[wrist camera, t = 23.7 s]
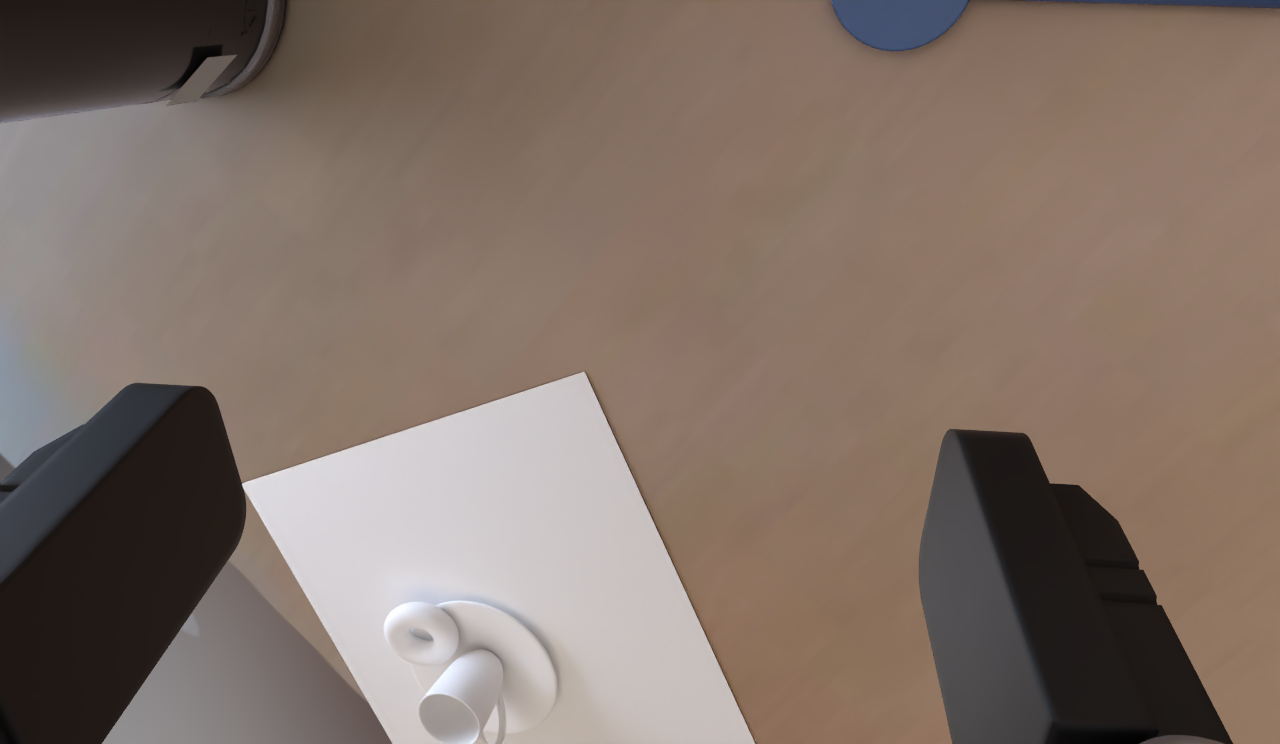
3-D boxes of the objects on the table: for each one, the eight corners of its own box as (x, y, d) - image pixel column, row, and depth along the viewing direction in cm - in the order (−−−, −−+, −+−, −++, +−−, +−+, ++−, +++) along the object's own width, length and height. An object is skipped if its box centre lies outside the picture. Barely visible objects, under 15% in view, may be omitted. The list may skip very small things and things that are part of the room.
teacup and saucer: (379, 597, 45) (331, 650, 42) (510, 566, 42) (471, 620, 39) (456, 735, 48) (418, 797, 44) (586, 716, 45) (556, 780, 41)
